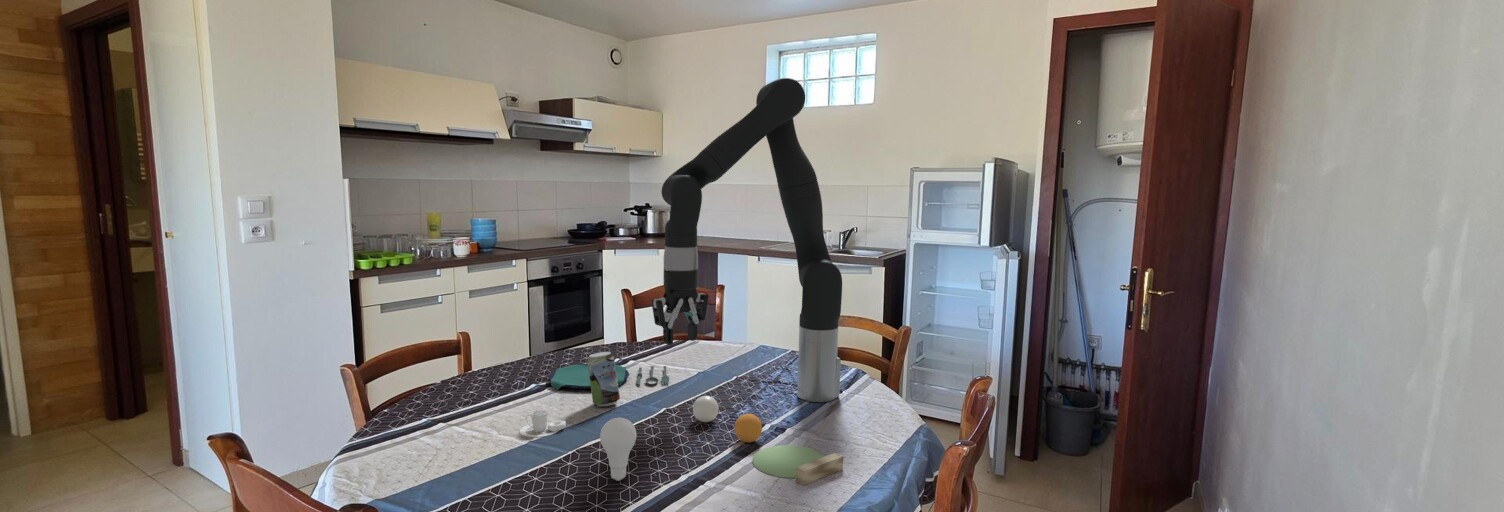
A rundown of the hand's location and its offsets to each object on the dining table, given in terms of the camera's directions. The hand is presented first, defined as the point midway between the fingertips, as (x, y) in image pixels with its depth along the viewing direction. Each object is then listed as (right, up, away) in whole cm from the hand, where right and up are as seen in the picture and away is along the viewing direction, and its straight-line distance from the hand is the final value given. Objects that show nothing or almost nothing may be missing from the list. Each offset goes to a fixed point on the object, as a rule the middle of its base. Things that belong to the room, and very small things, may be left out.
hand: (680, 341), depth 151 cm
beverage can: (-18, -15, +4) cm, 24 cm away
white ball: (+6, -14, -6) cm, 16 cm away
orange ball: (+15, -15, -16) cm, 27 cm away
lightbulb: (-7, -20, -34) cm, 40 cm away
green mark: (+23, -19, -25) cm, 39 cm away
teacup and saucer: (-26, -18, -14) cm, 34 cm away
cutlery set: (-20, -13, +23) cm, 33 cm away
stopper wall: (+28, -20, -30) cm, 46 cm away
